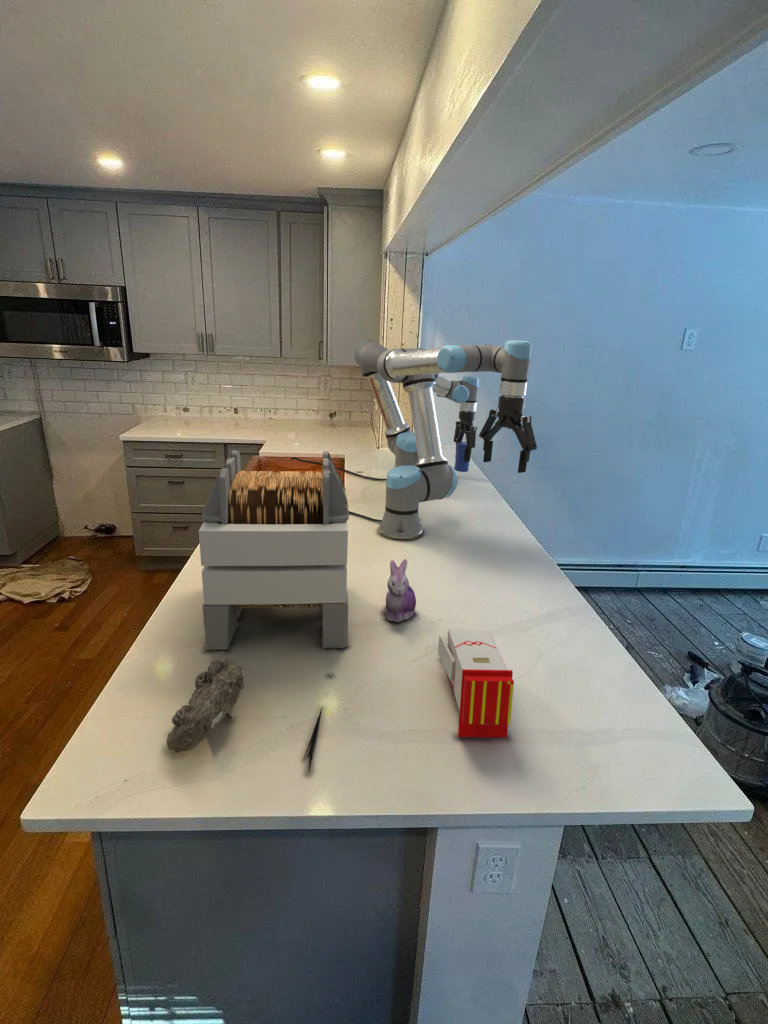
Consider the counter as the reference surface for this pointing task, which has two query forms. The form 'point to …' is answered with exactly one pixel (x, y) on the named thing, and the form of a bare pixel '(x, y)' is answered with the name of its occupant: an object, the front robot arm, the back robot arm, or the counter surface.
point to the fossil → (206, 705)
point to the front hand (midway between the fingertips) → (503, 466)
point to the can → (461, 458)
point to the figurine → (399, 594)
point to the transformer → (274, 548)
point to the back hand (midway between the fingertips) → (462, 459)
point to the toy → (478, 682)
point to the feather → (313, 740)
